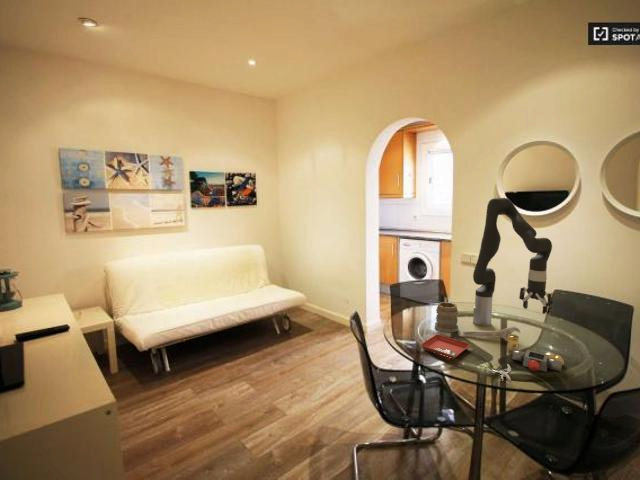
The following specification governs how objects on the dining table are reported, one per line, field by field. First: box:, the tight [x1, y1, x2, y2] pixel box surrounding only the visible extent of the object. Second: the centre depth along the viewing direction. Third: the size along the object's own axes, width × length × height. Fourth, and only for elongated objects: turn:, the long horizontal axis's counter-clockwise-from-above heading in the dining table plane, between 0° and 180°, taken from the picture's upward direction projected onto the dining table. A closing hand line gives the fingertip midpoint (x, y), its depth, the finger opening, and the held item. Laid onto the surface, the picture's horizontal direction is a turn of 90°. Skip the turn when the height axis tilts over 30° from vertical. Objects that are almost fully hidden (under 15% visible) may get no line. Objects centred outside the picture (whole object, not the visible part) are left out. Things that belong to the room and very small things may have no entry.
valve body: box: [511, 349, 563, 373], centre depth 158 cm, size 19×13×5 cm
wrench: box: [457, 326, 521, 342], centre depth 187 cm, size 8×2×30 cm
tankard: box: [434, 296, 459, 334], centre depth 205 cm, size 20×13×15 cm, turn 161°
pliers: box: [485, 361, 512, 383], centre depth 154 cm, size 10×2×15 cm
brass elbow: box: [543, 352, 565, 367], centre depth 161 cm, size 7×4×6 cm
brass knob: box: [506, 333, 520, 354], centre depth 172 cm, size 5×5×8 cm
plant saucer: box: [420, 333, 471, 359], centre depth 176 cm, size 18×18×3 cm
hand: (534, 310), depth 172 cm, fingers open, 8 cm apart
